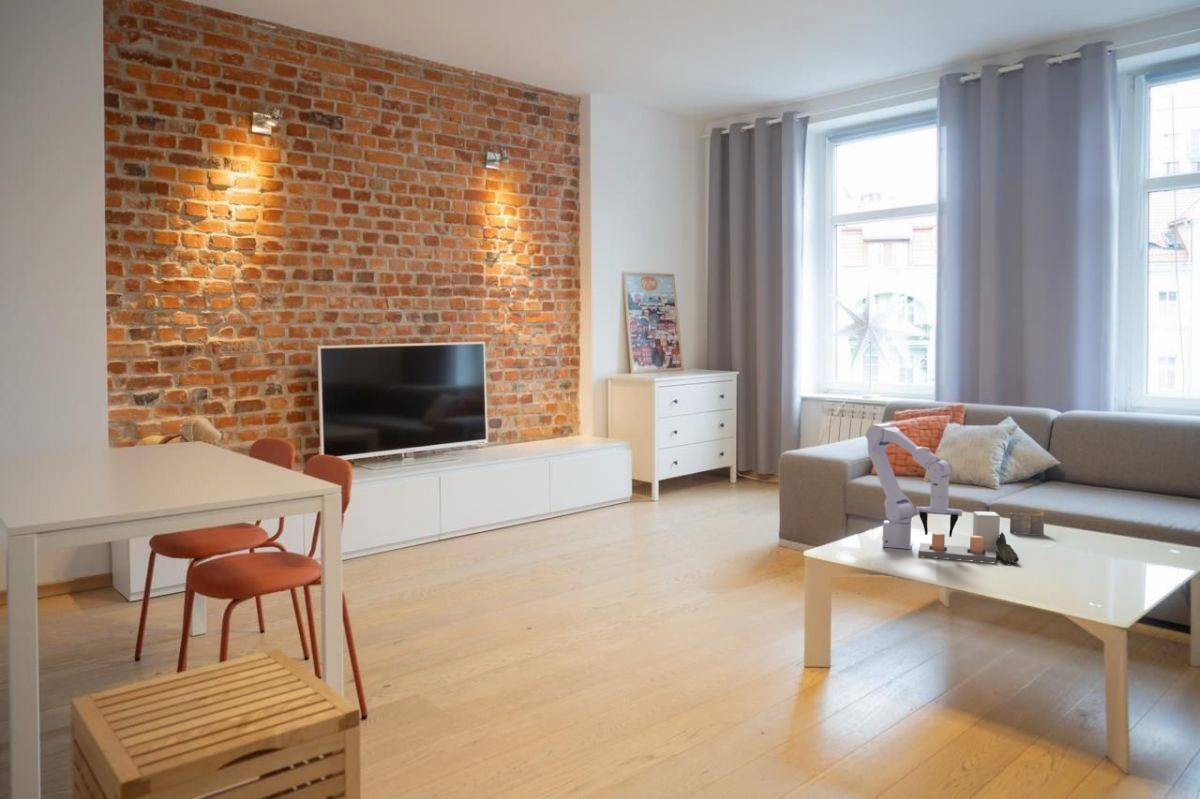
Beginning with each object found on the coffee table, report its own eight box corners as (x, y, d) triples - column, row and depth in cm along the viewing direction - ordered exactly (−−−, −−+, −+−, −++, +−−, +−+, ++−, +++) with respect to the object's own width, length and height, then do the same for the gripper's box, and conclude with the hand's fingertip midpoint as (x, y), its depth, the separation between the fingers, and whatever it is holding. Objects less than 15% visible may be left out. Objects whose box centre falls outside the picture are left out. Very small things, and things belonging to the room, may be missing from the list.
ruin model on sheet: (1043, 535, 331) (1044, 509, 330) (1043, 536, 328) (1044, 510, 328) (1010, 532, 336) (1010, 506, 335) (1009, 533, 333) (1010, 508, 333)
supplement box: (999, 551, 305) (1000, 515, 304) (976, 551, 306) (977, 515, 306) (994, 546, 312) (995, 511, 311) (972, 545, 314) (972, 510, 313)
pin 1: (931, 555, 301) (932, 534, 301) (931, 552, 305) (932, 532, 304) (944, 556, 300) (944, 535, 299) (944, 553, 303) (944, 533, 303)
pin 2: (969, 558, 297) (970, 537, 296) (969, 555, 300) (970, 535, 300) (982, 559, 295) (983, 538, 295) (982, 556, 299) (983, 536, 298)
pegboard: (918, 556, 299) (918, 550, 299) (920, 548, 310) (920, 543, 310) (996, 563, 290) (996, 557, 290) (995, 554, 301) (995, 549, 301)
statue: (1019, 573, 288) (1006, 547, 307) (1023, 558, 286) (1010, 532, 305) (999, 569, 289) (987, 543, 308) (1003, 554, 287) (991, 529, 306)
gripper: (915, 496, 300) (915, 535, 301) (962, 499, 294) (961, 539, 295) (917, 492, 306) (916, 531, 308) (962, 495, 301) (961, 535, 302)
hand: (938, 535), depth 302 cm, fingers open, 7 cm apart
